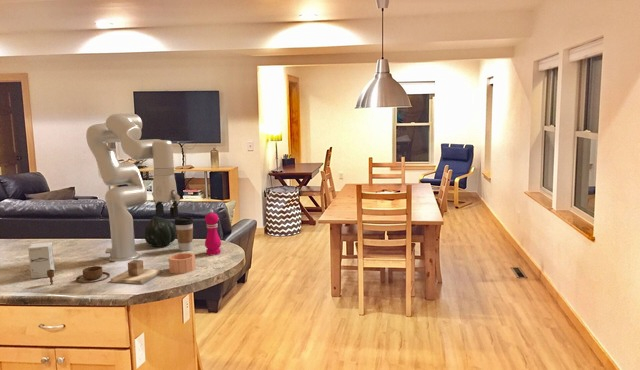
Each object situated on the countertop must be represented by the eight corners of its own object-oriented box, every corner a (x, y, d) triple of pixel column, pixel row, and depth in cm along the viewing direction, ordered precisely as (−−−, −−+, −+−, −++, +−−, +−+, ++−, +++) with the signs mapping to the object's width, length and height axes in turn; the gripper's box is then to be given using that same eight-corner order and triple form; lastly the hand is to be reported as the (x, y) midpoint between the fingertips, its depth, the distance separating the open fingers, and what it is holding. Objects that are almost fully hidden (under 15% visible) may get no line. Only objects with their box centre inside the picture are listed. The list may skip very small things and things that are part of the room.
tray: (107, 284, 190) (106, 282, 190) (131, 271, 204) (130, 270, 204) (142, 286, 186) (142, 284, 186) (164, 273, 201) (164, 272, 201)
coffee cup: (178, 247, 240) (176, 216, 238) (196, 246, 241) (194, 215, 239) (174, 252, 232) (172, 220, 230) (193, 251, 232) (191, 219, 230)
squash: (186, 230, 251) (164, 208, 250) (174, 238, 237) (152, 215, 236) (166, 248, 254) (145, 226, 253) (154, 257, 240) (132, 235, 239)
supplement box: (30, 279, 198) (27, 247, 196) (35, 273, 205) (32, 243, 203) (51, 277, 200) (48, 246, 198) (55, 271, 207) (52, 241, 205)
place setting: (92, 289, 186) (91, 274, 185) (44, 287, 190) (43, 272, 189) (120, 274, 203) (119, 260, 202) (75, 272, 207) (74, 258, 206)
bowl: (164, 274, 200) (163, 259, 199) (177, 266, 210) (176, 252, 209) (187, 275, 198) (186, 260, 197) (199, 267, 207) (199, 253, 207)
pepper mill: (217, 255, 224) (215, 211, 221) (202, 255, 226) (200, 211, 223) (224, 251, 231) (221, 208, 228) (209, 250, 233) (206, 207, 230)
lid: (111, 281, 191) (109, 265, 190) (131, 271, 203) (130, 256, 202) (141, 283, 188) (140, 267, 187) (160, 272, 200) (159, 257, 199)
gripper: (143, 172, 199) (146, 214, 202) (168, 174, 188) (171, 220, 191) (159, 170, 205) (162, 211, 207) (185, 172, 194) (188, 216, 196)
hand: (167, 215), depth 199 cm, fingers open, 9 cm apart
